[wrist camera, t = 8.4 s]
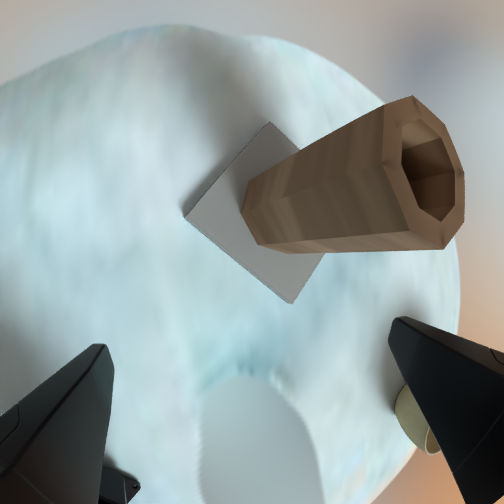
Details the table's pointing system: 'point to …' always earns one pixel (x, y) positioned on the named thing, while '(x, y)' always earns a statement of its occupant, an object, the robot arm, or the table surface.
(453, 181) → the brown faceted vase
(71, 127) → the table surface
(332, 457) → the table surface
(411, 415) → the flower pot
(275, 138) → the post stand
